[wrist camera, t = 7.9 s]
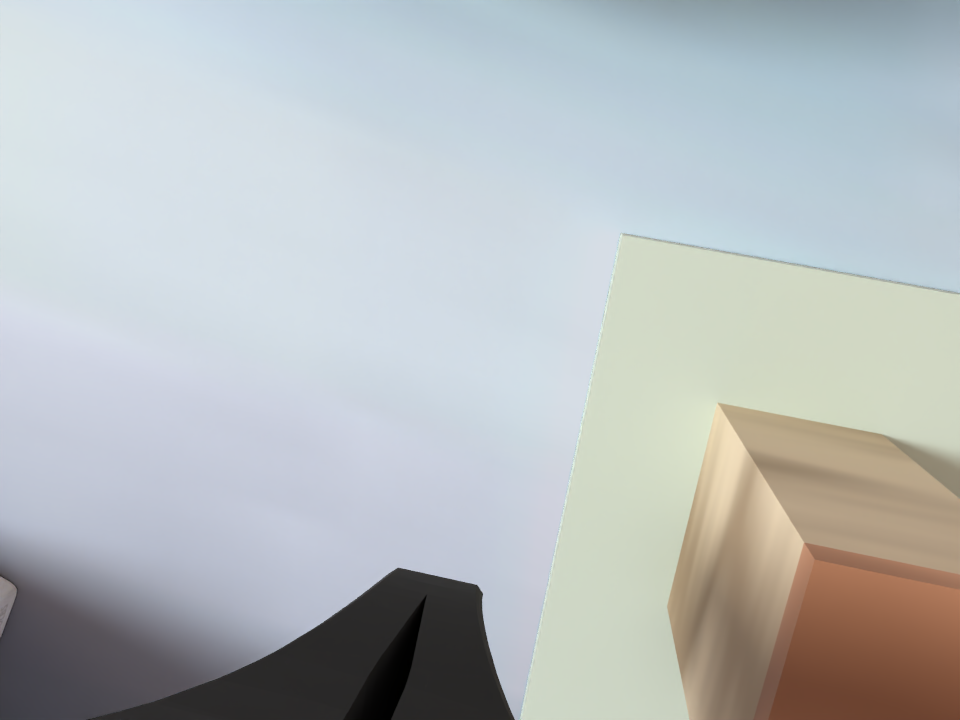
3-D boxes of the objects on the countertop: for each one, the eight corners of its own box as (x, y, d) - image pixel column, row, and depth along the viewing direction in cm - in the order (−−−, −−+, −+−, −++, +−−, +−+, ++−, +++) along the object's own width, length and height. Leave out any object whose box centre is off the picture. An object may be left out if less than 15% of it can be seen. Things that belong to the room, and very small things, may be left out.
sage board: (871, 816, 20) (883, 841, 19) (516, 732, 21) (514, 754, 20) (1043, 307, 17) (1065, 314, 16) (620, 232, 18) (622, 235, 17)
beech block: (819, 639, 18) (979, 943, 11) (666, 606, 18) (721, 880, 11) (881, 434, 17) (1105, 619, 10) (717, 402, 17) (814, 560, 10)
